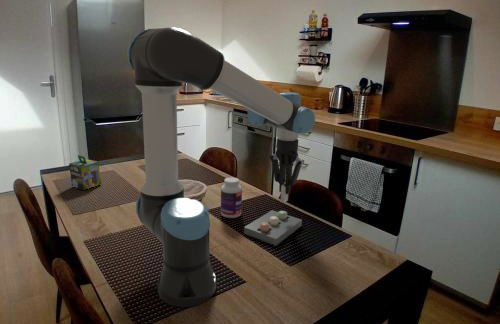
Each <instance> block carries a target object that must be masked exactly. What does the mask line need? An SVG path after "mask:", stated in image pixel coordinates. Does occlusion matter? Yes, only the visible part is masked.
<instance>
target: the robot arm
mask: <svg viewBox="0 0 500 324" xmlns="http://www.w3.org/2000/svg"><path fill="white" fill-rule="evenodd" d="M126 51H127V52H126V55H127V60H128V64H129V66H130V67H131V69H132V71H134V72H133V73H134V85H135V87H136V88H137V89H138V90H139V91H140V93H141V103H142V105H141V106H142V107H141V108H142V123H143V125H142V129H143V130H142V131H143V145H144V146H143V149H144V169H145V170H144V171H145V173H144V174H145V182H144V183H142V185H141V186H140V188H139V189H140V190H139V191H140V192H139V193H140V195H138V197H137V200H136V202H135V213H136V215H137V217H138V219H139V221H140V222H141V224H142V225H143V226H144V227H146V228H147V229H148V230H149V231H150V232H151V233H152V234H153V235H154V236H155V237H156V238H157V239H158V240H159V241H160V242H161V245H162V256H163V257H162V258H163V265H162V268H161V272H160V275H159V277H158V281H157V294H158V297H159V298H160V300H162V301H163V302H164V303H165V304H166V305H170V306H172V307H179V308H188V307H194V306H197V305H200V304H203V303H205V302H207V301H208V300H210V298H212V297H213V295H214V294H215V292H216V291H217V278H216V277H217V276H216V274H215V272H214V269H213V266H212V263H211V261H210V228H211V220H210V212H209V209H208V208H207V206H206V205H205V203H203V202H202V201H200V200H197V199H196V198H194V199H191V198H190V197H185V194H184V193H185V192H184V191H185V185H184V184H183V183H182V182H181V181H180V180H179V164H178V163H179V157H178V154H179V153H178V151H179V150H178V106H177V105H178V100H177V98H178V97H177V96H178V95H177V94H178V92H179V91H180V90H181V89H182V88H183V84H188V85H190V86H194V87H196V88H198V89H199V90H201V91H208V90H211V91H213V92H215V93H216V94H218V95H221V96H223V97H225V98H226V99H228V100H230V101H232V102H234V103H236V104H238V105H240V106H242V107H244V108H245V109H247V118H248V122H249V123H250V124H251V125H252V126H257V127H258V126H260V127H262V126H270V127H273V128H276V137H277V138H276V143H275V145H276V147H275V148H276V151H275V153H273V154H270V155H269V160H270V161H271V166H272V170H273V176H274V177H273V178H274V181H275V182H276V183H278V184H279V189H278V191H279V193H280V203H283V204H285V203H286V202H287V201H289V194H290V193H291V188H292V187H291V186H293V185H295V184H297V180H298V177H299V174H300V171H301V167H302V166H303V164H304V163H305V160H303V159H301V158H300V157H299V154H298V150H299V139H298V138H300V137H299V136H300V135H299V134H302V135H306V134H309V133H310V132H311V130H312V129H313V128H314V125H315V123H316V115H315V112H314V111H313V110H312V109H311V108H308V107H306V106H302V104H301V103H302V101H301V98H302V97H301V94H300V93H298V92H290V91H289V92H285V91H284V92H279V93H278V92H277V91H275V90H273V89H271V88H270V87H268V86H266V85H265V84H264V83H262V82H260V81H259V80H258V79H256V78H254V77H252V76H251V75H249V74H247V73H246V72H244V71H243V70H241V69H240V68H238V67H236V66H235V65H234V64H231V63H230V62H228V61H227V60H225V55H224V54H223V53H222V52H221V51H219V50H218V49H216V48H214V47H213V46H212V45H210V44H208V43H207V42H206V41H204V40H202V39H201V38H199V37H198V36H196V35H194V34H192V33H191V32H190V31H189V32H188V31H187V30H184V29H182V28H179V27H174V26H170V27H163V28H162V27H161V28H148V29H145V30H143V31H140V32H139V33H137V34H135V35H134V36H133V37H132V38H131V40H130V42H129V44H128V46H127V50H126ZM294 163H295V166H294ZM293 167H294V169H293Z"/></svg>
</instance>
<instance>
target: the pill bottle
mask: <svg viewBox="0 0 500 324" xmlns="http://www.w3.org/2000/svg"><path fill="white" fill-rule="evenodd" d="M239 183H240V179H239V178H237V177H226V178H224V183H223V184H222V186H221V188H220V213H221V216H223V217H224V218H227V219H236V218H238V217H240V216H241V214H242V210H243V209H242V208H243V207H242V205H243V202H242V201H243V187H242V186H241V185H240V184H239Z"/></svg>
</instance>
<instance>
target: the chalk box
mask: <svg viewBox="0 0 500 324" xmlns="http://www.w3.org/2000/svg"><path fill="white" fill-rule="evenodd" d="M77 158H78V160H76V161H74V162H70V163H68V167H69V172H70V173H69V174H70V180H71V181H70V182H71V187H72V186H74V187H76V188H75V189H77V188H79V189H82V190H86V189H88V190H90V189H89V188H91V187H94V188H96V187H95V186H97V187H99V186H98V185H100V184H101V185H102V178H101V171H100V164H99V161H97V160H94V159H93V160H92V159H88V158H85V156H82V155H80V154H78V155H77ZM101 185H100V186H101ZM74 187H73V188H74ZM79 189H78V190H79ZM91 189H92V188H91ZM82 190H81V191H82ZM86 191H87V190H86Z"/></svg>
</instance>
